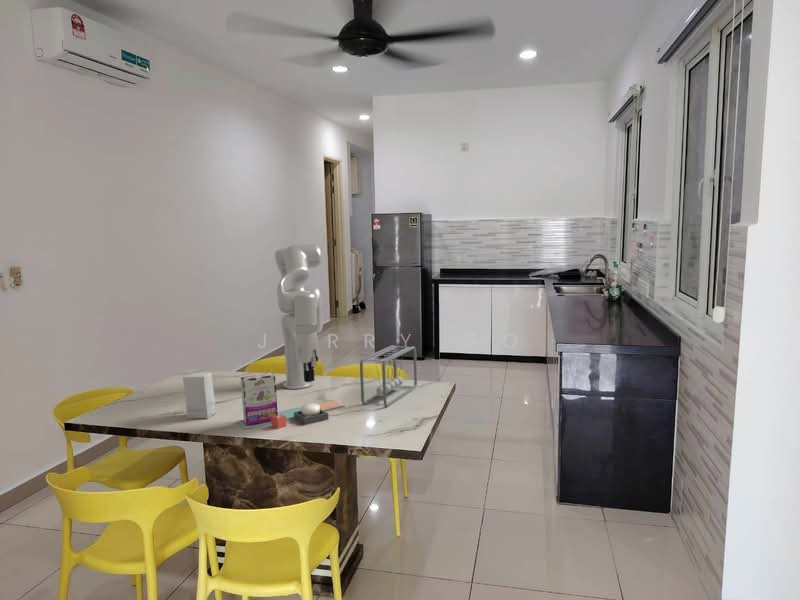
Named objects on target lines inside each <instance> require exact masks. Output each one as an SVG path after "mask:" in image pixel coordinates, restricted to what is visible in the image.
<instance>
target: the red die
mask: <svg viewBox="0 0 800 600" xmlns="http://www.w3.org/2000/svg"><path fill="white" fill-rule="evenodd" d="M270 425H271V427H272V428H274V429H278V430H279V429H282V428H284V427H286V426H287V420H286V416H284V415H281V414H278V415H275V416H272V417H271V424H270Z"/></svg>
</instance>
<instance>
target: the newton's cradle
mask: <svg viewBox="0 0 800 600" xmlns="http://www.w3.org/2000/svg"><path fill="white" fill-rule="evenodd" d="M397 348H401V350H398V349H397ZM402 348H404V349H402ZM416 349H417V348H416V347H415V346H414V345H413V346H399V345H398V346H397V345H393V344H392V345H389V346H387V347H385V348H383V349H381V350H378V351H376V352H374V353H371V354H369V355H367V356H365V357H363V358H361V359H360V361H359V376H360V394H361V395H360V397H361V400H360V401H361V404H363V405H367V404H368V405H369V404H370V405H377V406H378V405H379V406H384V407H386V408H388V407H390V406H391V405H393V404H394V403H395V402H397V401H399V400H400V399H402V398H403V397H405V396H406V395H407V394H409V393H410V392H412V391H413V390H415V389H416V388H417V386H418V368H417V366H418V364H417V350H416ZM412 350H413V351H412ZM411 351H412V352H413V377H414V382H413V383H414V384H413V386H407V385H403V384H404V379H403V377H401V376H400V374H401V372H397V369H398V367H397V365H398V361H399V360H397V359H398V358H399V357H402V356H403V355H405V354H406V353H408V352H411ZM389 352H392V354H391V353H389ZM385 354H387V356H386V355H385ZM381 356H384V357H383V358H382V359H379V358H381ZM376 358H378V359H379V360H377V359H376ZM400 359H401V361H400V363H402V362H403V361H402V360H403V358H400ZM365 361H367V362H375V363H377V362H380V363H381V364H380V365H381V366H380V367H381V370H382V371H381V372H382V373H381V374H382V381H381V382H380V380H378V381H379V382H378V383H379V384H381V385H380V386H378V387H377V388H376V394H375V395H373V396H371V397H369V398H367V399H366V400H365V385H364V381H365V380H364V362H365ZM391 361H393V364H392V363H391ZM387 363H389V364H388V367H390V369H391V378H390V376H389V375H390V374H389V372H390V369H388V367H387ZM375 366H376V368H378V366H377V364H375ZM401 367H402V365H400V367H399V369H400V370H401ZM386 369H387V370H386ZM376 370H377V374H379V370H378V369H376ZM386 371H387V373H386ZM398 373H399V374H398ZM386 374H387V375H386ZM377 376H378V377H377V378H378V379H380V377H379V375H377ZM386 376H387V377H386ZM389 378H390V379H389ZM398 387H402V388H409V389H407V390H406V391H403V392H402V393H401V394H399V395H398V396H397V397H395V398H393V399H391V400H390V401H388V402H387V394H388V393H390V392H391V391H393V390H395V389H396V388H398ZM378 397H383V398H382V399H383V403H375V402H371V401H373V400H375V399H377V398H378Z"/></svg>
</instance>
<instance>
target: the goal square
mask: <svg viewBox="0 0 800 600" xmlns="http://www.w3.org/2000/svg"><path fill="white" fill-rule="evenodd" d="M328 401H329V402H327V401H325V403H323V402H319V403H320V404H319V405H320V409H321V410H323V411H324V410H328V409H333V408H337V407H342V406H345V404H342V403H340V402H338V401H336V400H334V401H332V400H328ZM342 408H343V407H342Z"/></svg>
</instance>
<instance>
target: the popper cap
mask: <svg viewBox="0 0 800 600" xmlns="http://www.w3.org/2000/svg"><path fill="white" fill-rule="evenodd" d="M300 407H301V411H302V415H304V416H305V417H311V416H315V415H318V414H319V413H320V405H319V404H318V403H306V404H303V405H302V406H300Z"/></svg>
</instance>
